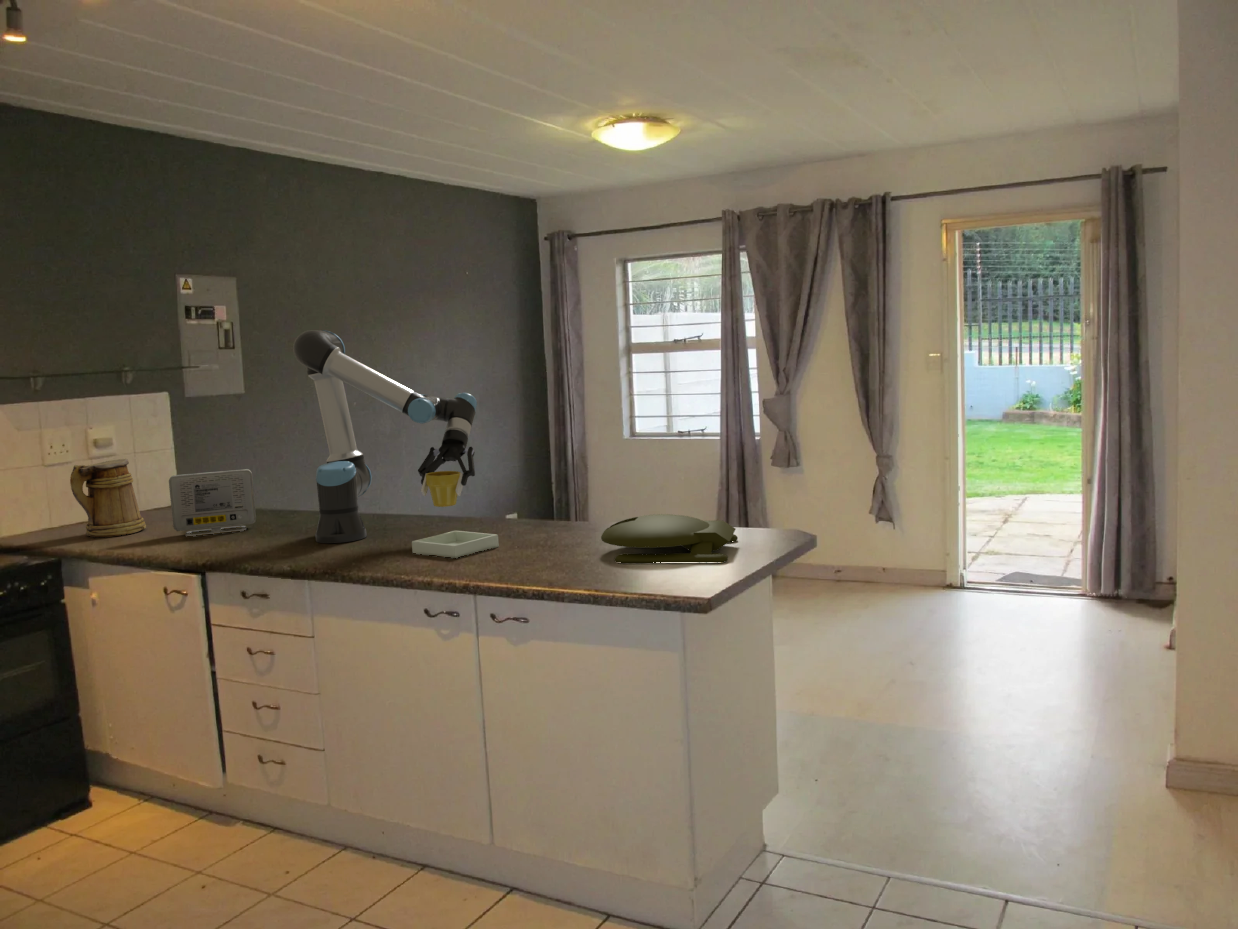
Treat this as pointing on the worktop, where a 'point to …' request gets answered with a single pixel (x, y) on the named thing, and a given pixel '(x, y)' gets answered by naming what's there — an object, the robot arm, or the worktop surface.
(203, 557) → the worktop surface
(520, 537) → the worktop surface
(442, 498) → the plant pot
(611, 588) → the worktop surface
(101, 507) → the tankard
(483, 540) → the tray
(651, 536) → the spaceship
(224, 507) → the network device
